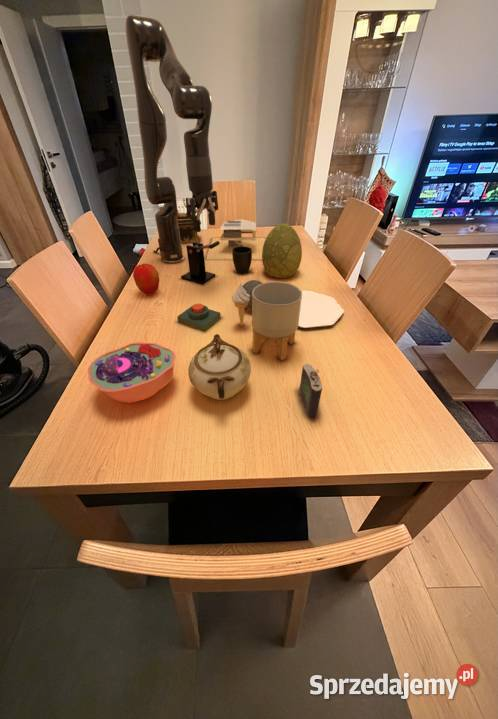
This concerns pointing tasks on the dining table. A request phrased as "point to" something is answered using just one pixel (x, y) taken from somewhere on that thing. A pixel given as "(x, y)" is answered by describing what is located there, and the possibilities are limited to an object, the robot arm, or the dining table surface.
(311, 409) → the flask
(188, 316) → the button housing
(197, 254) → the bracket
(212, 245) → the lever
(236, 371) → the sugar bowl
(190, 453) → the dining table surface
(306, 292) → the plate
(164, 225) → the robot arm
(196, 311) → the button
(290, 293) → the planter
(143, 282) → the red mango
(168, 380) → the cell model
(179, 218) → the decorative box
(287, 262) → the decorative sculpture
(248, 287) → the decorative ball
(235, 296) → the ice cream cone
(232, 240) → the house model
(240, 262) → the mug
